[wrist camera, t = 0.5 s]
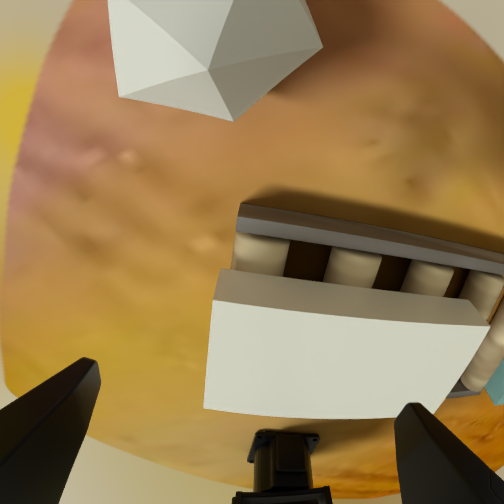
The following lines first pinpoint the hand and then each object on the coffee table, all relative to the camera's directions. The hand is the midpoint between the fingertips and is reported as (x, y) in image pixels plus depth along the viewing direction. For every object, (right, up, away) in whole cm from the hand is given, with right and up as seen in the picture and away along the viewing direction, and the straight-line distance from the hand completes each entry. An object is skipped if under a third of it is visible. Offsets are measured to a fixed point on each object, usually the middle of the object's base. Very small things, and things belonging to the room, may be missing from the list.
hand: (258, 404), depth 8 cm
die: (-2, +16, +7) cm, 17 cm away
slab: (+6, -1, +11) cm, 12 cm away
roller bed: (+11, -1, +14) cm, 17 cm away
